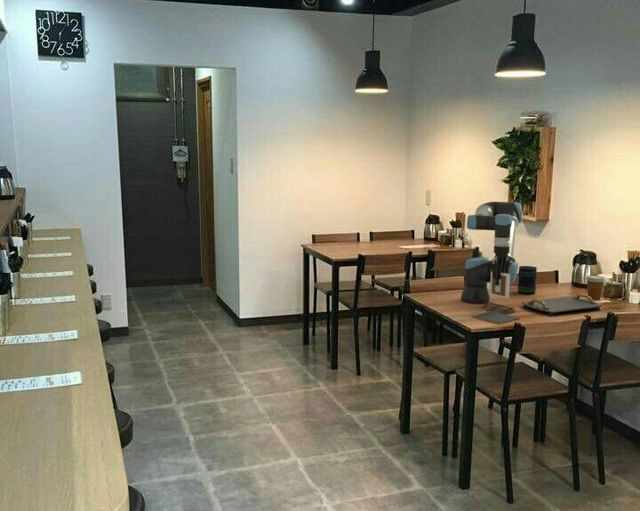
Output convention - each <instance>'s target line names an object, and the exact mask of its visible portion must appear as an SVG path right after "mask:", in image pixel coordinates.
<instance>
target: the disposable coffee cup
mask: <svg viewBox="0 0 640 511" xmlns="http://www.w3.org/2000/svg"><path fill="white" fill-rule="evenodd" d="M585 279H586V287H587V295H588V296H590V297H591V298H592V299H593V300H596V299H597V300H601V297H602V293H603V288H604V284H605V282H606V279H605V277H604V276H602V275H587V276H586V278H585Z"/></svg>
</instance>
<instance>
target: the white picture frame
mask: <svg viewBox="0 0 640 511" xmlns="http://www.w3.org/2000/svg"><path fill="white" fill-rule="evenodd" d="M500 279H501V292H495V279H494V278H493V277H492V272H491V283H490V287H489V291H490V292H489V296H490V295H491V296H494V297H498V298H499V297H500V298H504V299H509V298H510V285H511V284H510V274H506V273H501V275H500Z"/></svg>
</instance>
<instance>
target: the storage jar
mask: <svg viewBox="0 0 640 511" xmlns="http://www.w3.org/2000/svg"><path fill="white" fill-rule="evenodd" d="M537 268H538V267H536V266H531V265H520V266H518V271H517V277H518V283H517V294H518V295H522V296H534V295H536V290H537V284H536V282H537V281H536V280H537V276H538V275H537V274H538V273H537V270H538V269H537Z"/></svg>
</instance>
